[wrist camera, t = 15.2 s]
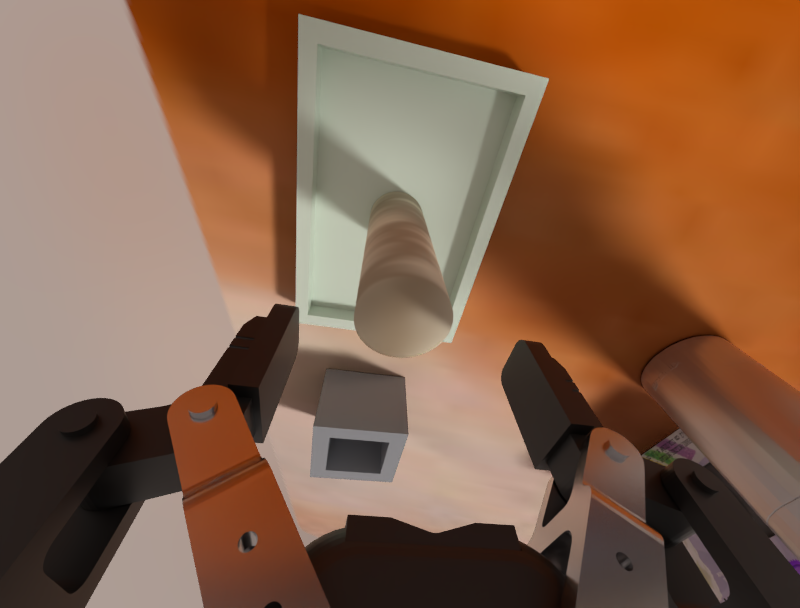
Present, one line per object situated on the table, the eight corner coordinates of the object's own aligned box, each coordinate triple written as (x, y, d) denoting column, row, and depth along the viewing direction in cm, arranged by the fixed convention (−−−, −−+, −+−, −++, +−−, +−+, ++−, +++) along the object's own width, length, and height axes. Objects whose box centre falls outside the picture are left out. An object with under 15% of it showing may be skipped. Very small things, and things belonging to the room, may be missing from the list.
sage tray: (531, 81, 20) (549, 78, 18) (446, 326, 30) (451, 342, 28) (308, 24, 18) (298, 13, 16) (302, 306, 28) (295, 322, 26)
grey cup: (404, 377, 34) (408, 434, 28) (391, 424, 39) (391, 482, 33) (326, 368, 33) (313, 426, 27) (322, 418, 38) (310, 476, 32)
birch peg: (428, 197, 22) (466, 285, 12) (416, 247, 25) (438, 362, 14) (374, 186, 22) (360, 269, 11) (366, 239, 24) (349, 351, 13)
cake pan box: (691, 416, 40) (869, 601, 25) (716, 425, 41) (900, 606, 26) (587, 487, 49) (672, 651, 35) (610, 492, 51) (702, 653, 36)
